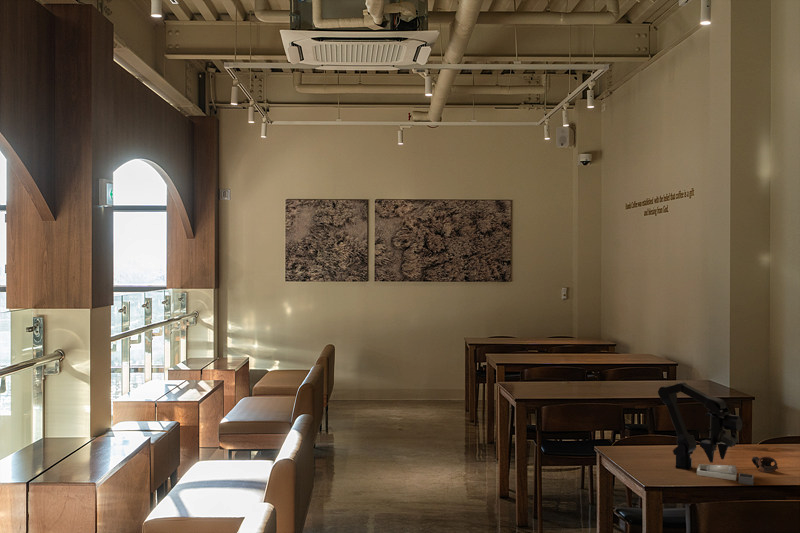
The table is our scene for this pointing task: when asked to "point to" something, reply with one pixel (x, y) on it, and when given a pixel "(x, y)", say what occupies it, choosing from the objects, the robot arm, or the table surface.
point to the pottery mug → (765, 464)
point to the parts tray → (713, 474)
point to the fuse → (722, 469)
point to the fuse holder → (745, 479)
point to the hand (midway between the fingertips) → (716, 460)
